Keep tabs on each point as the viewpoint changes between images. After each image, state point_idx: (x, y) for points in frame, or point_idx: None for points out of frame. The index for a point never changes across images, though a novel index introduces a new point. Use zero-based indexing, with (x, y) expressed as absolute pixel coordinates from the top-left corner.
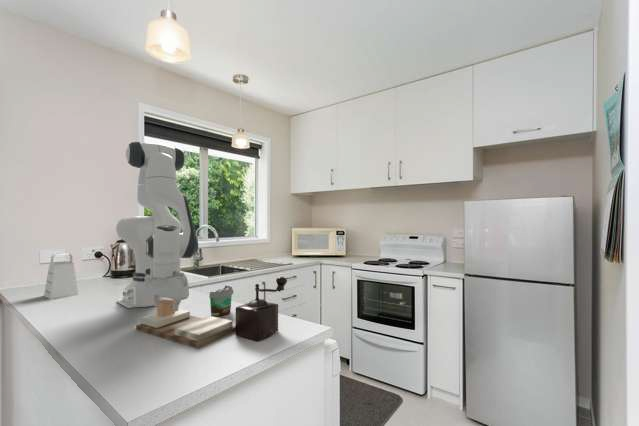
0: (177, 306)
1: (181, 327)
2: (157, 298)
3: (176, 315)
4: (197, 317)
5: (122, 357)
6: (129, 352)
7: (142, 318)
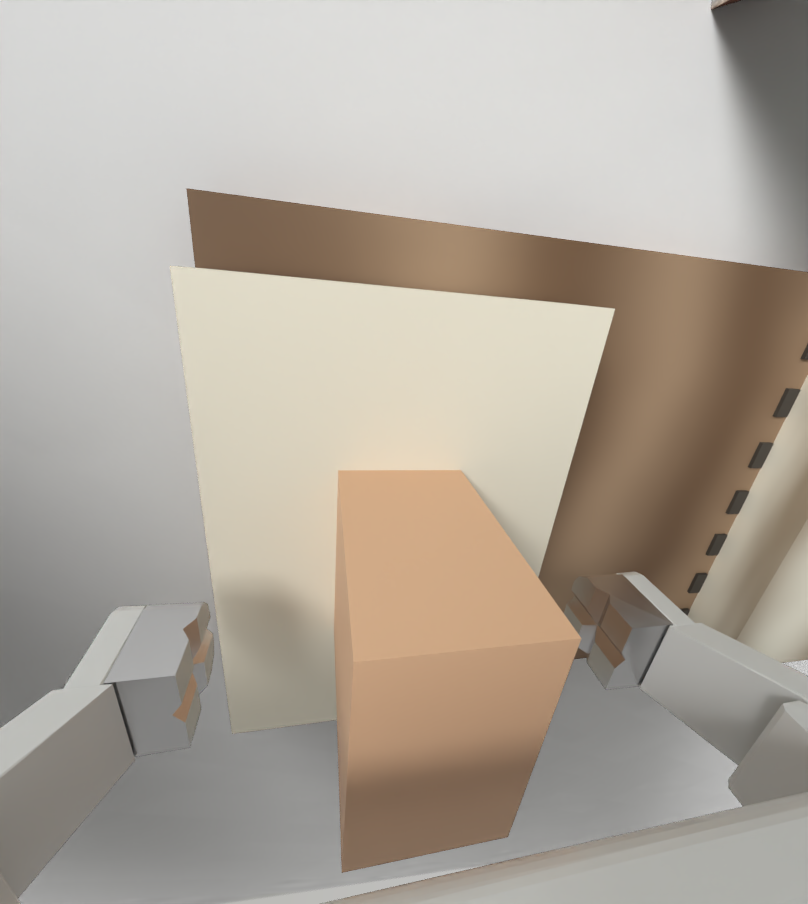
0: (677, 627)
1: (757, 643)
2: (13, 820)
3: (551, 519)
4: (658, 264)
5: (551, 785)
6: (540, 763)
7: (269, 724)
